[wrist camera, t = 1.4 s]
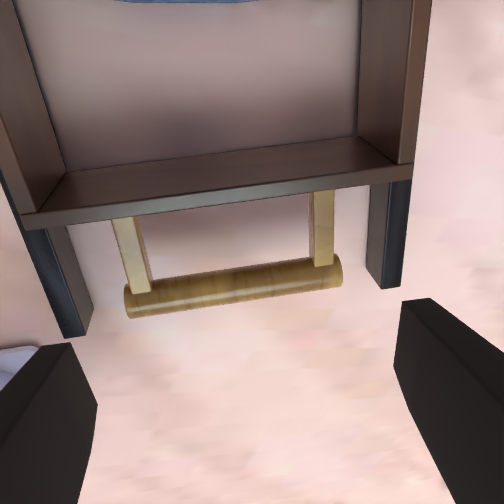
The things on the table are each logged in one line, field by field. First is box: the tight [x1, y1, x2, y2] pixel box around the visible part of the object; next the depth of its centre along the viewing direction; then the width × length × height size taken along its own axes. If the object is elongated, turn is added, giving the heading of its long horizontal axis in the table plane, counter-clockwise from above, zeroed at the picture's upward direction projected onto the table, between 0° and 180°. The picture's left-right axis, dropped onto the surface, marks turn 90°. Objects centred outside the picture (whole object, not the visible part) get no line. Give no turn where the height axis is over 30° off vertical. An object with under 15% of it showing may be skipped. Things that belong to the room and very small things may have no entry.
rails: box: [0, 0, 432, 339], centre depth 15 cm, size 24×16×2 cm, turn 5°
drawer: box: [0, 0, 431, 319], centre depth 13 cm, size 21×13×4 cm, turn 5°
